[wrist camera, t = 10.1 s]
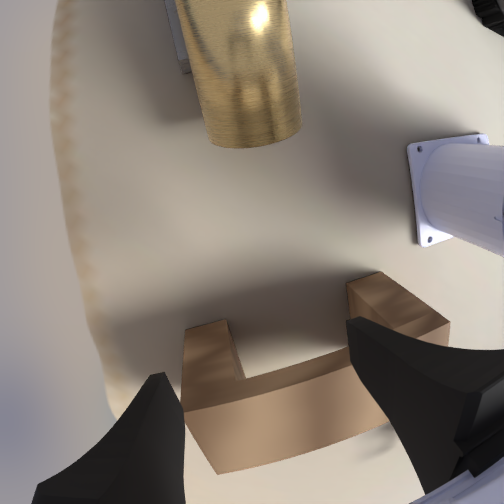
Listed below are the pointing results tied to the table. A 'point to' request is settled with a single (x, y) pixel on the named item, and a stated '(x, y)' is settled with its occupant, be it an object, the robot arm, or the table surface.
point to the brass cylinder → (242, 69)
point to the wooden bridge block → (291, 386)
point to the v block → (178, 36)
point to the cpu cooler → (491, 14)
